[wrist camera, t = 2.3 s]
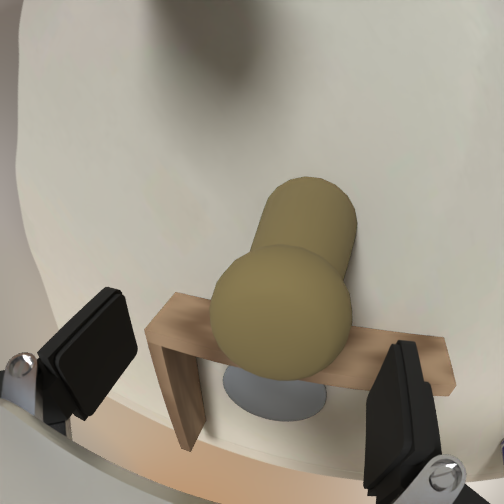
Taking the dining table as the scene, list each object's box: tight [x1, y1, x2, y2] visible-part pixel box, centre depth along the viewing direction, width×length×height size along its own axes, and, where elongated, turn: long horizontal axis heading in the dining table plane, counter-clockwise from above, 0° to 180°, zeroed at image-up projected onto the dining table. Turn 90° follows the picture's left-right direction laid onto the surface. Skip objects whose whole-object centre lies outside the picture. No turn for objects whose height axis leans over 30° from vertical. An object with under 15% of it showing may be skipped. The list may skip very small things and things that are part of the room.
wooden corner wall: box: [144, 292, 456, 452], centre depth 25 cm, size 22×20×5 cm
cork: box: [209, 177, 357, 381], centre depth 14 cm, size 6×6×11 cm
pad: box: [223, 365, 326, 421], centre depth 27 cm, size 10×10×1 cm
